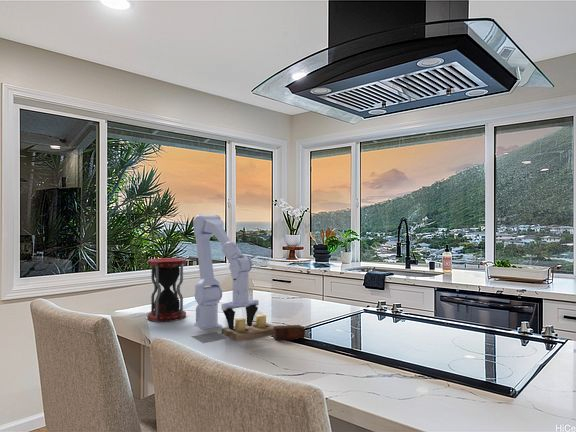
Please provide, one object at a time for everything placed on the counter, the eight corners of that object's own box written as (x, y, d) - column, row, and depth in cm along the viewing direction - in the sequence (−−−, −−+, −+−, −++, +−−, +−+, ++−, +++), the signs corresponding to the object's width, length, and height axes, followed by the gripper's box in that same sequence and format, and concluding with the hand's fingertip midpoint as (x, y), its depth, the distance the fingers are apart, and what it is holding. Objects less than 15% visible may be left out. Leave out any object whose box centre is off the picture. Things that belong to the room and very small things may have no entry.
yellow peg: (232, 335, 152) (232, 318, 152) (241, 333, 154) (242, 317, 154) (238, 337, 148) (238, 320, 148) (247, 335, 151) (247, 319, 151)
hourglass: (139, 320, 174) (139, 260, 174) (161, 312, 189) (161, 257, 189) (172, 323, 169) (172, 261, 169) (193, 314, 184) (193, 258, 184)
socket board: (221, 333, 153) (221, 328, 153) (262, 326, 164) (262, 321, 164) (237, 341, 144) (237, 335, 144) (279, 333, 155) (279, 327, 155)
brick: (275, 342, 144) (276, 328, 144) (273, 338, 148) (273, 325, 148) (304, 339, 147) (305, 326, 147) (301, 336, 150) (301, 323, 151)
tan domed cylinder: (253, 331, 157) (253, 315, 157) (262, 329, 159) (262, 314, 160) (259, 333, 154) (259, 317, 154) (268, 331, 156) (268, 315, 156)
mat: (190, 337, 149) (190, 336, 149) (216, 332, 155) (216, 331, 155) (202, 343, 141) (202, 343, 141) (228, 338, 147) (228, 338, 147)
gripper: (228, 293, 144) (228, 333, 144) (263, 289, 153) (263, 326, 152) (218, 291, 150) (218, 328, 149) (252, 287, 158) (252, 322, 158)
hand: (240, 327), depth 151 cm, fingers open, 7 cm apart
